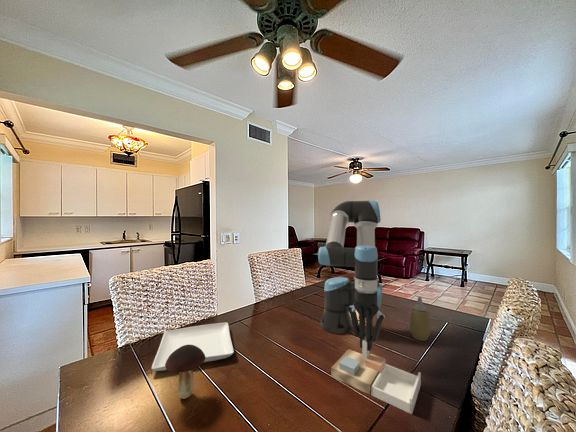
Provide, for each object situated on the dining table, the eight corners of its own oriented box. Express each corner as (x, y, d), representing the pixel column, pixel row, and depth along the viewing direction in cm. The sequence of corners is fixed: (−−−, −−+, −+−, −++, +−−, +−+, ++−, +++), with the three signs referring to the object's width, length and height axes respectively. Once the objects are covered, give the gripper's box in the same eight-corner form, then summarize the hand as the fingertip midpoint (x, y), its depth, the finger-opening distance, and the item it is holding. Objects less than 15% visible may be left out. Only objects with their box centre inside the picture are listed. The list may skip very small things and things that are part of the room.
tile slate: (339, 369, 77) (339, 362, 77) (345, 361, 81) (345, 355, 81) (353, 375, 74) (353, 369, 74) (359, 367, 78) (359, 361, 78)
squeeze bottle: (433, 343, 98) (433, 301, 99) (412, 341, 100) (412, 299, 100) (426, 334, 106) (426, 294, 107) (407, 332, 108) (407, 293, 108)
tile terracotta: (365, 366, 79) (365, 360, 79) (370, 359, 83) (370, 353, 83) (380, 372, 76) (380, 366, 76) (385, 364, 80) (385, 358, 80)
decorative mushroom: (209, 383, 75) (209, 336, 75) (197, 411, 64) (197, 356, 64) (175, 384, 74) (175, 337, 75) (156, 413, 63) (157, 357, 64)
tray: (371, 395, 70) (371, 381, 70) (384, 371, 81) (384, 359, 81) (412, 414, 63) (412, 399, 63) (420, 385, 74) (420, 372, 74)
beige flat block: (331, 376, 78) (331, 367, 78) (348, 356, 89) (348, 349, 89) (370, 394, 70) (370, 384, 70) (383, 370, 81) (383, 362, 81)
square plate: (164, 338, 103) (164, 330, 103) (228, 329, 112) (228, 321, 112) (150, 378, 77) (150, 367, 77) (234, 362, 86) (234, 351, 86)
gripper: (343, 289, 83) (343, 356, 82) (381, 297, 74) (381, 371, 74) (352, 284, 88) (352, 347, 88) (388, 291, 80) (388, 360, 80)
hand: (365, 358), depth 81 cm, fingers closed
